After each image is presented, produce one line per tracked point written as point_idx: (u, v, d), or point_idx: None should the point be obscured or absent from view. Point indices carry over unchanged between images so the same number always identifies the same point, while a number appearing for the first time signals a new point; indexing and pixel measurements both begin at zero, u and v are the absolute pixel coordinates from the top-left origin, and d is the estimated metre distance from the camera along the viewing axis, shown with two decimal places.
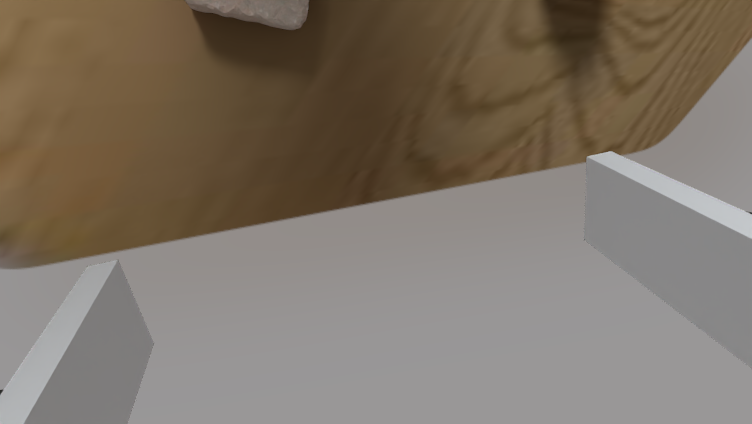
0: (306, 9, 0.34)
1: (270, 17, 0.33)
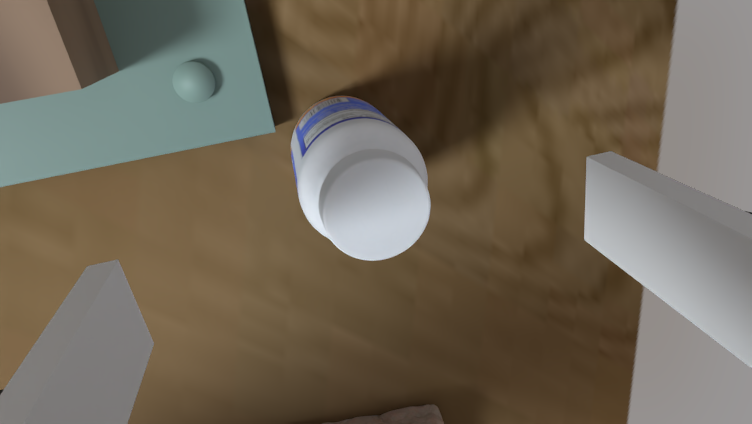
0: None
1: None
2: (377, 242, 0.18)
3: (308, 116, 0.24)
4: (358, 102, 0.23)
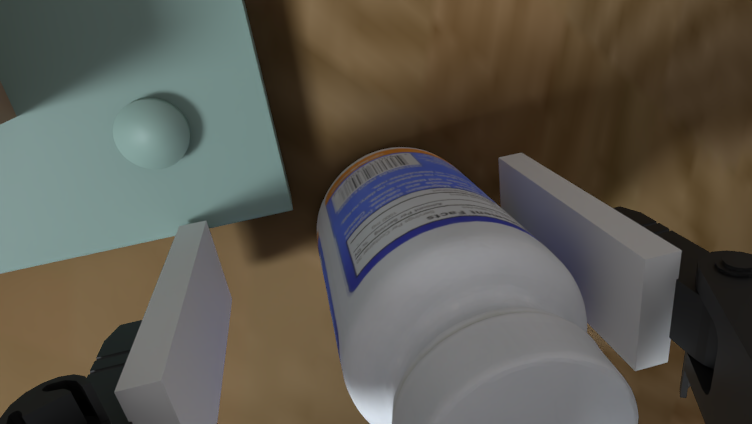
0: None
1: None
2: None
3: (349, 187, 0.14)
4: (435, 165, 0.14)
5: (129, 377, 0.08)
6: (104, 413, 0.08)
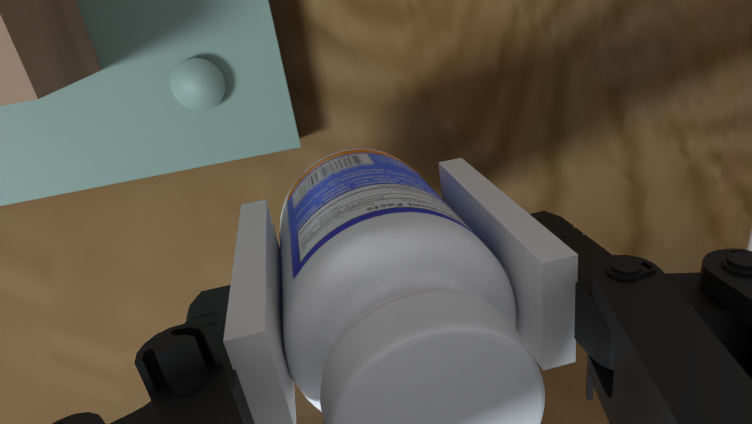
0: None
1: None
2: None
3: (307, 185, 0.15)
4: (388, 164, 0.15)
5: (234, 329, 0.09)
6: (220, 361, 0.08)
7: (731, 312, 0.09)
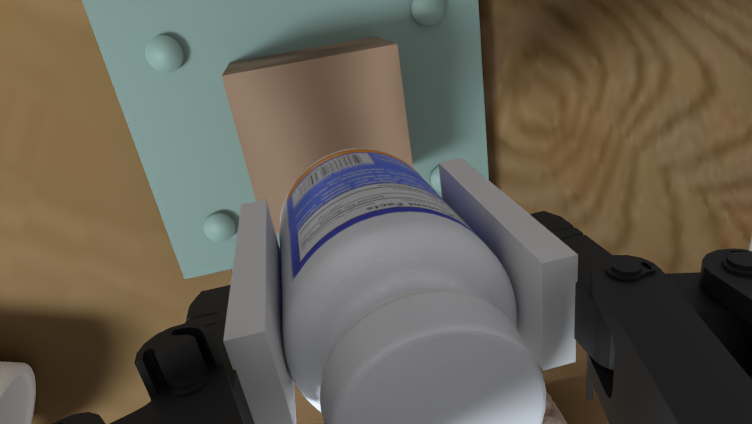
0: None
1: None
2: None
3: (307, 184, 0.15)
4: (388, 164, 0.14)
5: (234, 329, 0.09)
6: (220, 361, 0.08)
7: (731, 312, 0.09)
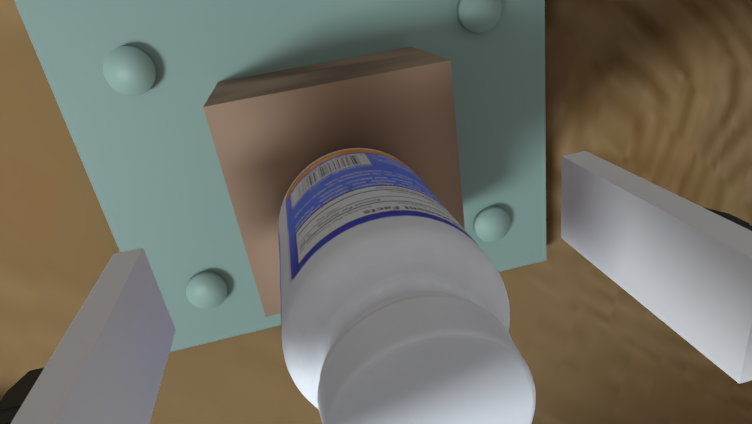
0: None
1: None
2: None
3: (305, 184, 0.15)
4: (386, 165, 0.15)
5: None
6: None
7: None
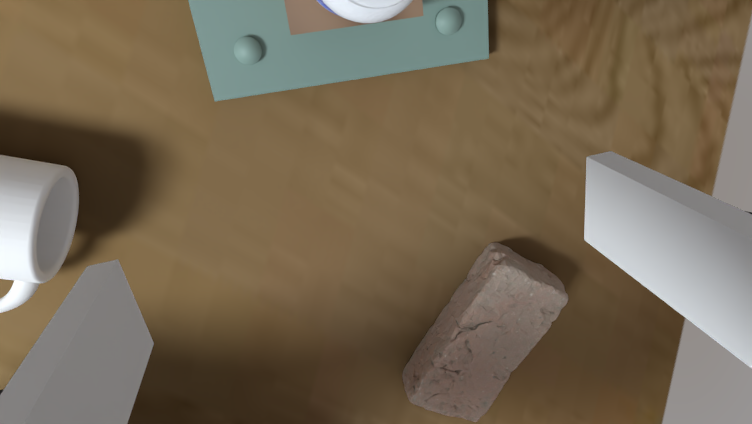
0: (495, 274, 0.42)
1: (524, 277, 0.42)
2: None
3: None
4: None
5: None
6: None
7: None
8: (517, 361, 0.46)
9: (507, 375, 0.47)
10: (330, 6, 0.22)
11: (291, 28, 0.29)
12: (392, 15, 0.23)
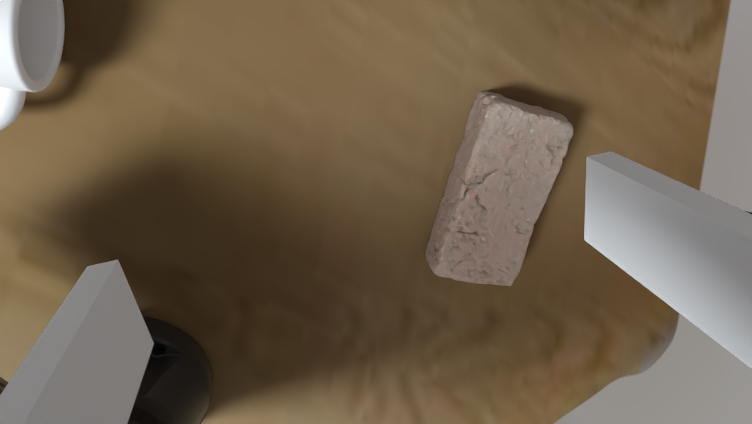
0: (487, 116, 0.40)
1: (518, 112, 0.40)
2: None
3: None
4: None
5: None
6: None
7: None
8: (537, 210, 0.44)
9: (530, 227, 0.45)
10: None
11: None
12: None
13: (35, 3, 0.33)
